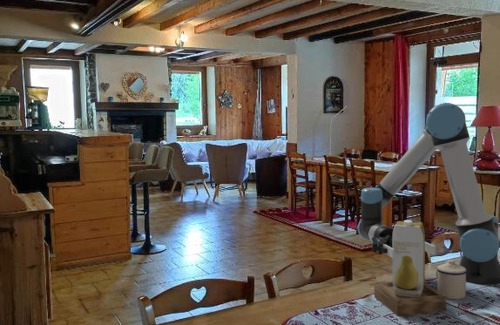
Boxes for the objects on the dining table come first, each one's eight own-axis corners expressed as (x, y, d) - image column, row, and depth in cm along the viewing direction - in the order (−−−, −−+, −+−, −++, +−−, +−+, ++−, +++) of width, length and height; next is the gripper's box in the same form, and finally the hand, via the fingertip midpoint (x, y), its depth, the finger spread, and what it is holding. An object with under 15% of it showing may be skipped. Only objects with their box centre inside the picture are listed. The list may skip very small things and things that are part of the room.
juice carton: (391, 296, 155) (391, 221, 153) (395, 288, 162) (395, 216, 160) (422, 300, 151) (423, 223, 149) (425, 291, 158) (425, 218, 156)
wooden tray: (419, 292, 166) (419, 279, 166) (446, 310, 150) (446, 296, 150) (374, 297, 163) (374, 283, 163) (397, 315, 148) (397, 301, 147)
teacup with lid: (472, 298, 160) (473, 262, 159) (448, 301, 158) (449, 265, 157) (448, 286, 172) (448, 253, 171) (425, 289, 169) (425, 256, 168)
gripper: (416, 244, 175) (450, 261, 155) (349, 249, 171) (376, 267, 150) (416, 223, 175) (451, 237, 154) (349, 228, 170) (376, 243, 150)
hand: (414, 252), depth 152 cm, fingers open, 13 cm apart
